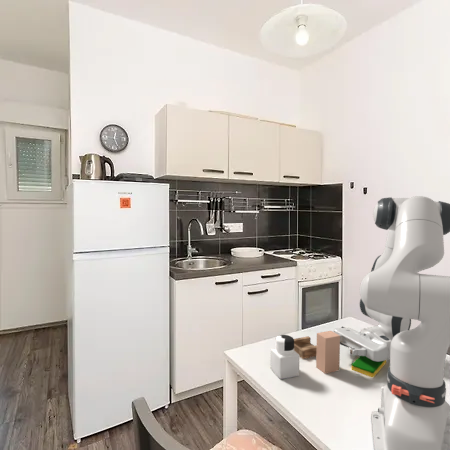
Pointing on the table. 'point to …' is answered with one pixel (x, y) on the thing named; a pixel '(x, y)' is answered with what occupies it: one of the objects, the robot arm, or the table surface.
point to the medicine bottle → (284, 358)
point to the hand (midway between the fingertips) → (341, 346)
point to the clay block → (328, 352)
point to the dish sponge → (367, 366)
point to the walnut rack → (304, 347)
